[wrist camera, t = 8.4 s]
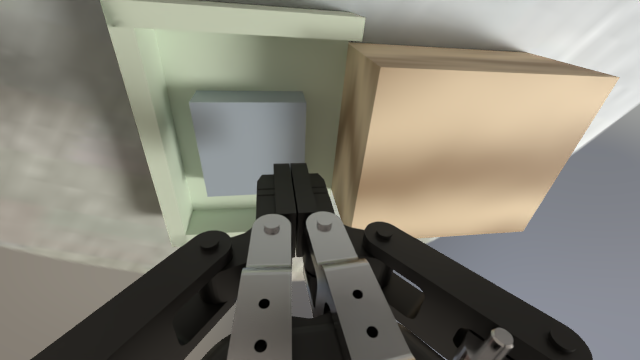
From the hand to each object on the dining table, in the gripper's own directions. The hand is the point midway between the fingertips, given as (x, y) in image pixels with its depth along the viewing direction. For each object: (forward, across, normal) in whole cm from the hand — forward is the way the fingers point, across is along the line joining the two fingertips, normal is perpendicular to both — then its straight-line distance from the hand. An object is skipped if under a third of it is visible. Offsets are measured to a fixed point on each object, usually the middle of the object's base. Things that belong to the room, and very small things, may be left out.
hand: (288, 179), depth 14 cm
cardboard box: (+6, -10, 0) cm, 12 cm away
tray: (+6, +2, 0) cm, 7 cm away
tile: (+4, +2, +1) cm, 4 cm away
